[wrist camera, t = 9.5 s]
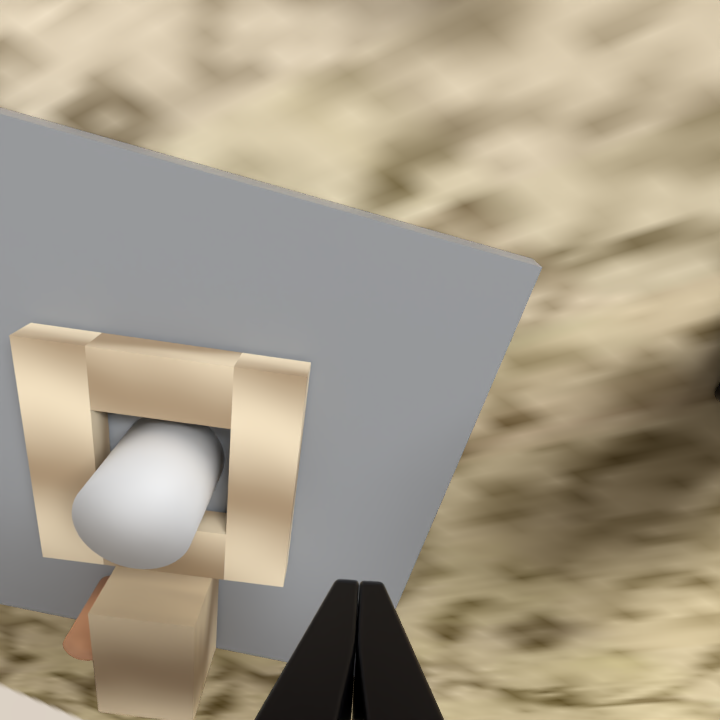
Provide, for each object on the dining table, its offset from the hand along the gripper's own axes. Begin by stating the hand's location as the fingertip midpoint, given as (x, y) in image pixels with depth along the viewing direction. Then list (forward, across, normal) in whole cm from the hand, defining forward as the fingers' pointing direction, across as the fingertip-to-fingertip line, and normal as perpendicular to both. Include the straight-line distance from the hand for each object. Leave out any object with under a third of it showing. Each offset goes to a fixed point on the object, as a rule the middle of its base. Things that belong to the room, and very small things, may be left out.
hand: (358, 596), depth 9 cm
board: (+12, +8, +5) cm, 15 cm away
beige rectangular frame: (+10, +8, +8) cm, 15 cm away
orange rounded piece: (+10, +11, +13) cm, 20 cm away
